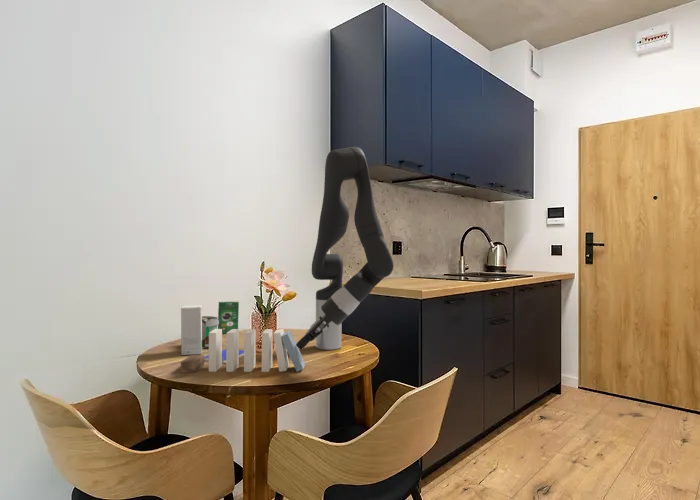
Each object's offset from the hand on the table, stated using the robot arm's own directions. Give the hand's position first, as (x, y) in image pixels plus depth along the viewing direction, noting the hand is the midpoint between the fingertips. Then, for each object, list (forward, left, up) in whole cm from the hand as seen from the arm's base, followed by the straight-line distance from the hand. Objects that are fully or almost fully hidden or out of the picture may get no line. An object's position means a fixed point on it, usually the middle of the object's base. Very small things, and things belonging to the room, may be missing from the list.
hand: (298, 347), depth 126 cm
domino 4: (+2, -9, -6) cm, 11 cm away
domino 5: (+1, -4, -6) cm, 7 cm away
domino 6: (0, +1, -6) cm, 6 cm away
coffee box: (-43, -48, -7) cm, 65 cm away
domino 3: (+4, -14, -6) cm, 15 cm away
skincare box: (-9, -42, -7) cm, 43 cm away
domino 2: (+5, -18, -6) cm, 20 cm away
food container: (-20, -42, -7) cm, 47 cm away
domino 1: (+6, -23, -6) cm, 25 cm away
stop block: (+8, -30, -6) cm, 31 cm away
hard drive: (-7, -28, -7) cm, 30 cm away
